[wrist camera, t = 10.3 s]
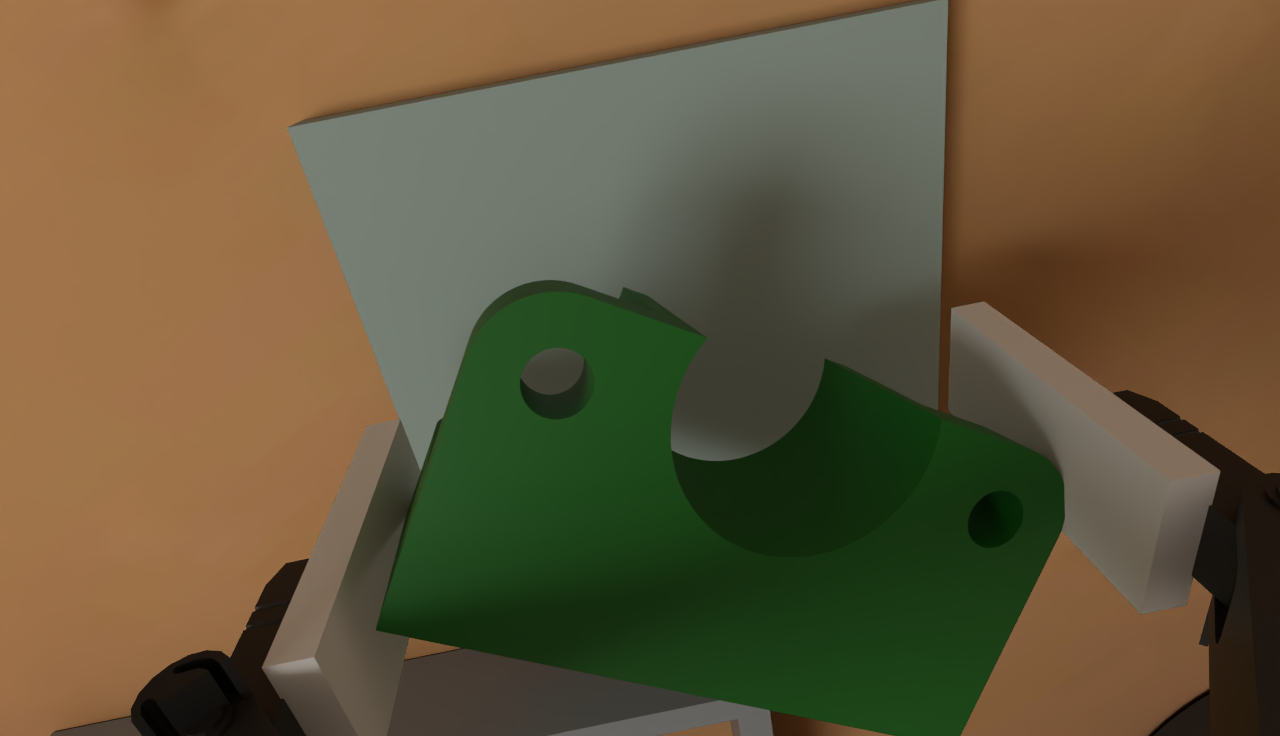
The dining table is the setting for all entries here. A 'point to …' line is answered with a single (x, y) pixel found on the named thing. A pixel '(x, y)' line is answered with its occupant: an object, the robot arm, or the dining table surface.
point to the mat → (664, 215)
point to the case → (528, 703)
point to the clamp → (717, 529)
